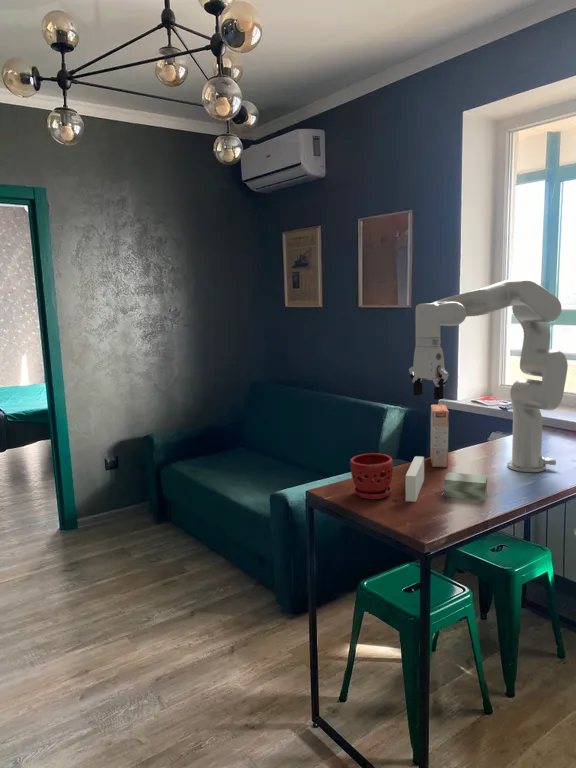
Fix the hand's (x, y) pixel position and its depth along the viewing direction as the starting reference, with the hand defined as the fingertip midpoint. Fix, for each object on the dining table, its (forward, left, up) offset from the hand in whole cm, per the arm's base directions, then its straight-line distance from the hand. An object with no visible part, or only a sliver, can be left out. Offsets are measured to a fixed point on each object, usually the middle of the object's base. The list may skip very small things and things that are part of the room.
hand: (428, 397), depth 181 cm
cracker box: (-1, -30, -30) cm, 42 cm away
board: (+4, +3, -30) cm, 30 cm away
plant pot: (+16, +11, -30) cm, 36 cm away
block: (-12, +3, -30) cm, 33 cm away
